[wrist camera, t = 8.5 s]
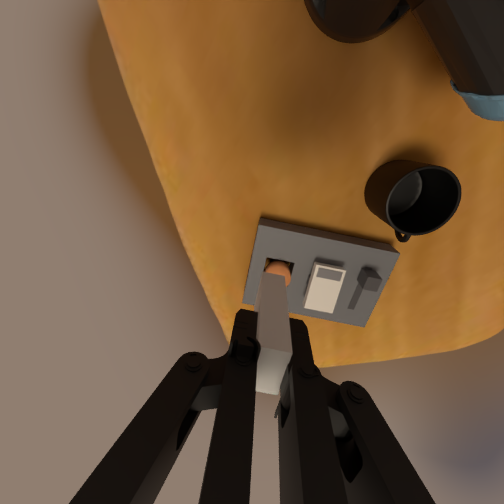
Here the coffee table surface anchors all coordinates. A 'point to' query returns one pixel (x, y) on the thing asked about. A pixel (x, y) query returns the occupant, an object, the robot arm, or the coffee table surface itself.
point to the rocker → (323, 287)
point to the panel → (323, 251)
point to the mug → (413, 196)
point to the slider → (369, 280)
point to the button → (279, 269)
